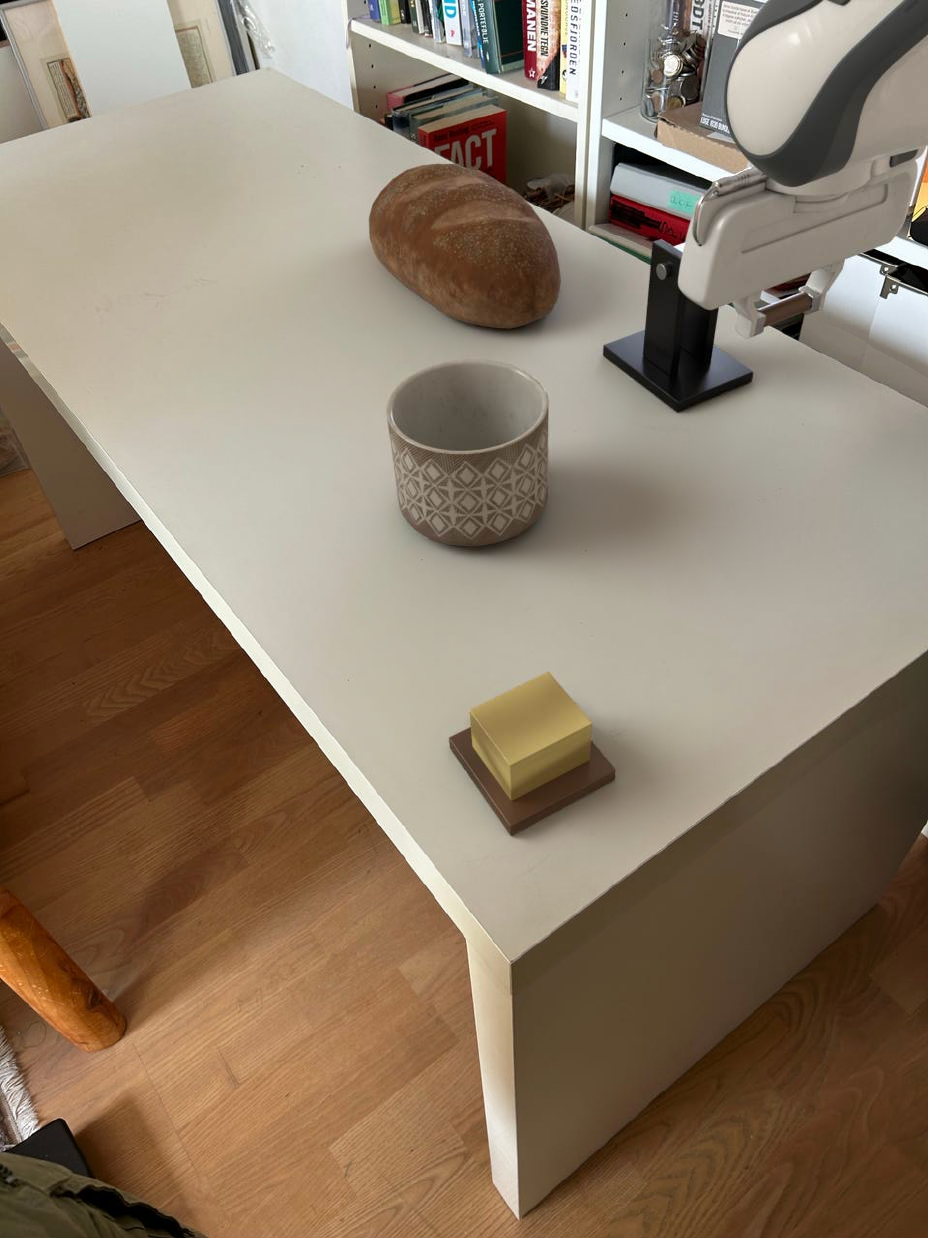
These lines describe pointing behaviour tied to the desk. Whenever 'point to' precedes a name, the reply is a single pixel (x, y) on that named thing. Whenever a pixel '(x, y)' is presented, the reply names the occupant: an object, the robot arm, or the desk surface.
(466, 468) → the planter
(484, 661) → the desk surface
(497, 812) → the butter
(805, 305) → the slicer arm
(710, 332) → the slicer
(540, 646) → the desk surface
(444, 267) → the bread
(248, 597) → the desk surface
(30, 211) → the desk surface
